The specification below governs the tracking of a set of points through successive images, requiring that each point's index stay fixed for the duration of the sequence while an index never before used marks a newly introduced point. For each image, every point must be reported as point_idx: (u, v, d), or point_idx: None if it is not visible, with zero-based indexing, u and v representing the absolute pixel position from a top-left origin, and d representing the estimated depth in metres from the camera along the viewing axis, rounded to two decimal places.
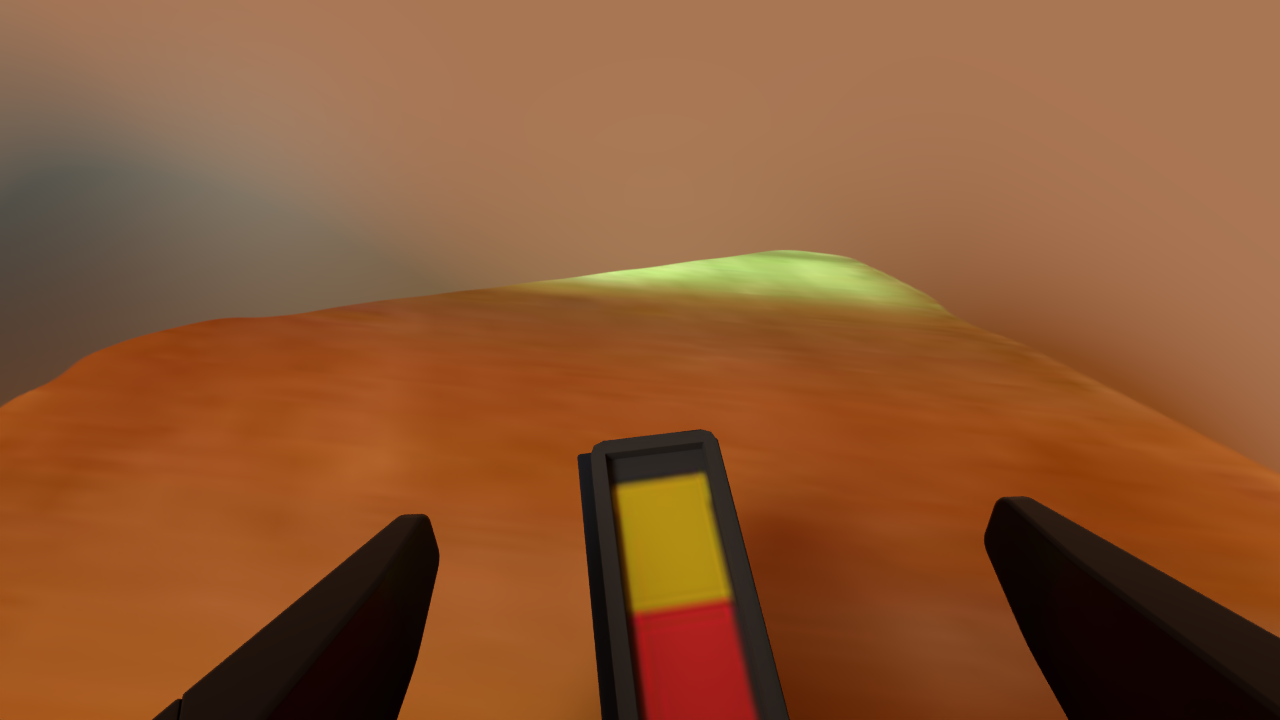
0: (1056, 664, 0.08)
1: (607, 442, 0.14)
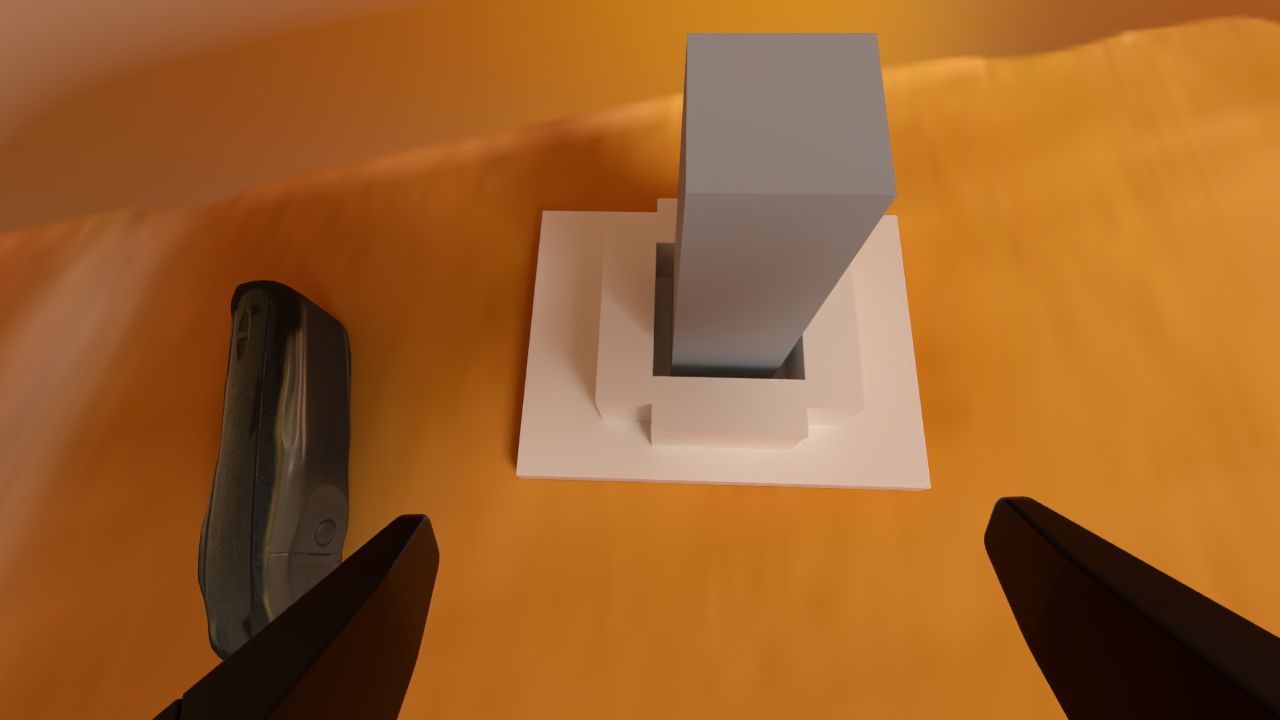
0: (1056, 664, 0.08)
1: None
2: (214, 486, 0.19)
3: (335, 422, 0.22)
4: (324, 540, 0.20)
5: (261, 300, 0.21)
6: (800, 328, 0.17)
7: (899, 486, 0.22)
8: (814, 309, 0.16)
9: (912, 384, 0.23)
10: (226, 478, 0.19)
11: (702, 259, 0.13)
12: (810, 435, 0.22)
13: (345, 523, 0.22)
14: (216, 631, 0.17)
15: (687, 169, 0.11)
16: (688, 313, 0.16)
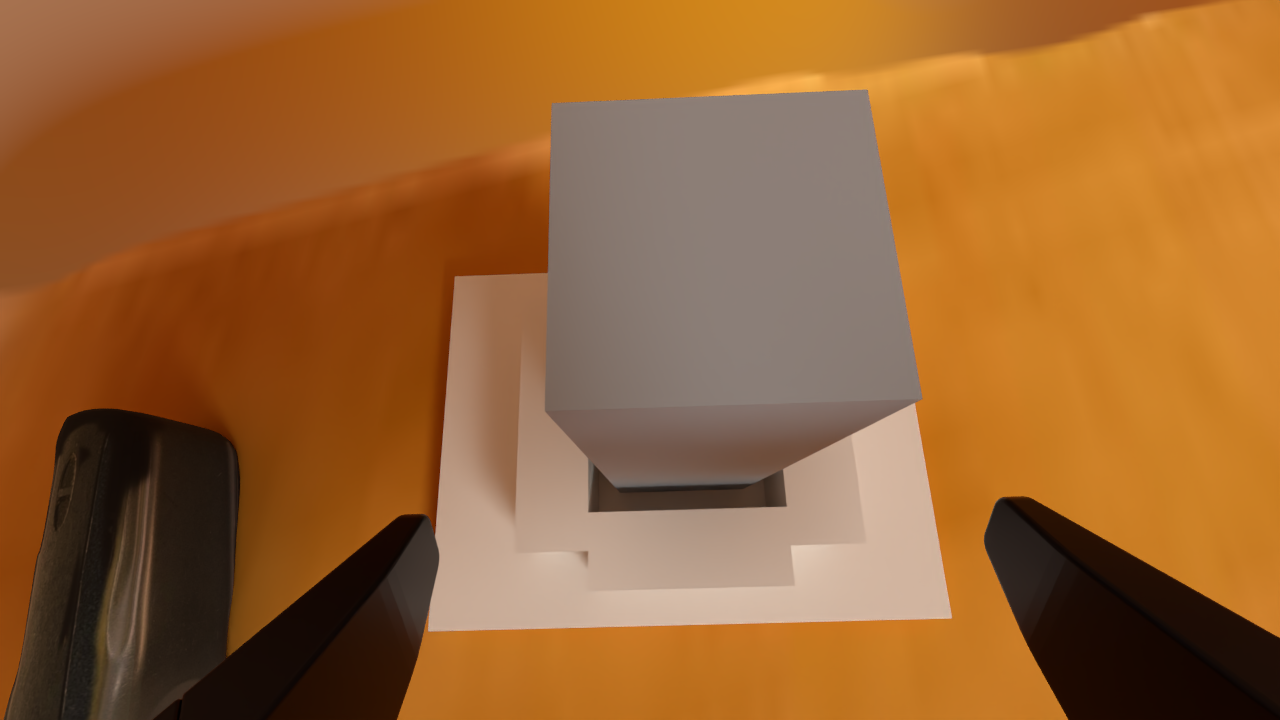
0: (1056, 664, 0.08)
1: None
2: None
3: (204, 587, 0.17)
4: None
5: (92, 442, 0.16)
6: (775, 469, 0.13)
7: (912, 618, 0.17)
8: (792, 461, 0.11)
9: (921, 480, 0.18)
10: (22, 710, 0.14)
11: (612, 445, 0.09)
12: (798, 555, 0.18)
13: None
14: None
15: (548, 364, 0.06)
16: (616, 468, 0.12)
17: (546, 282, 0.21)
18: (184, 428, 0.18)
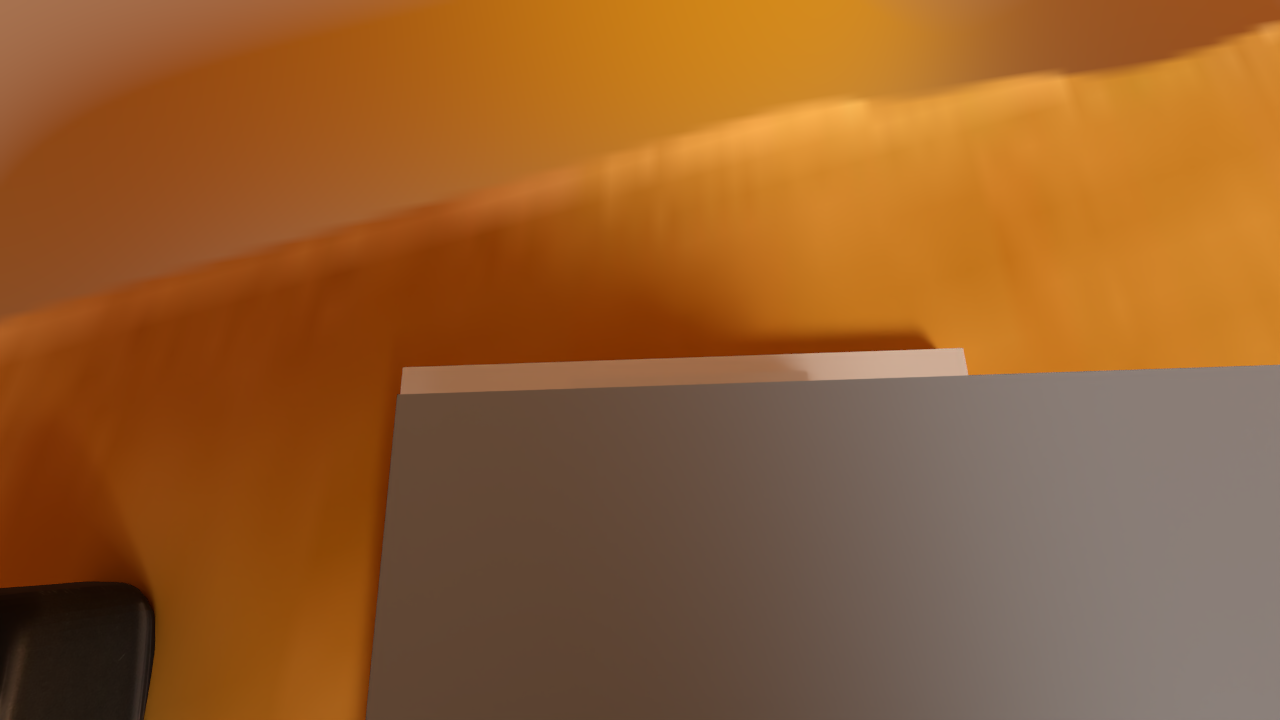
0: None
1: None
2: None
3: None
4: None
5: None
6: None
7: None
8: None
9: None
10: None
11: None
12: None
13: None
14: None
15: None
16: None
17: (520, 376, 0.16)
18: (73, 603, 0.14)
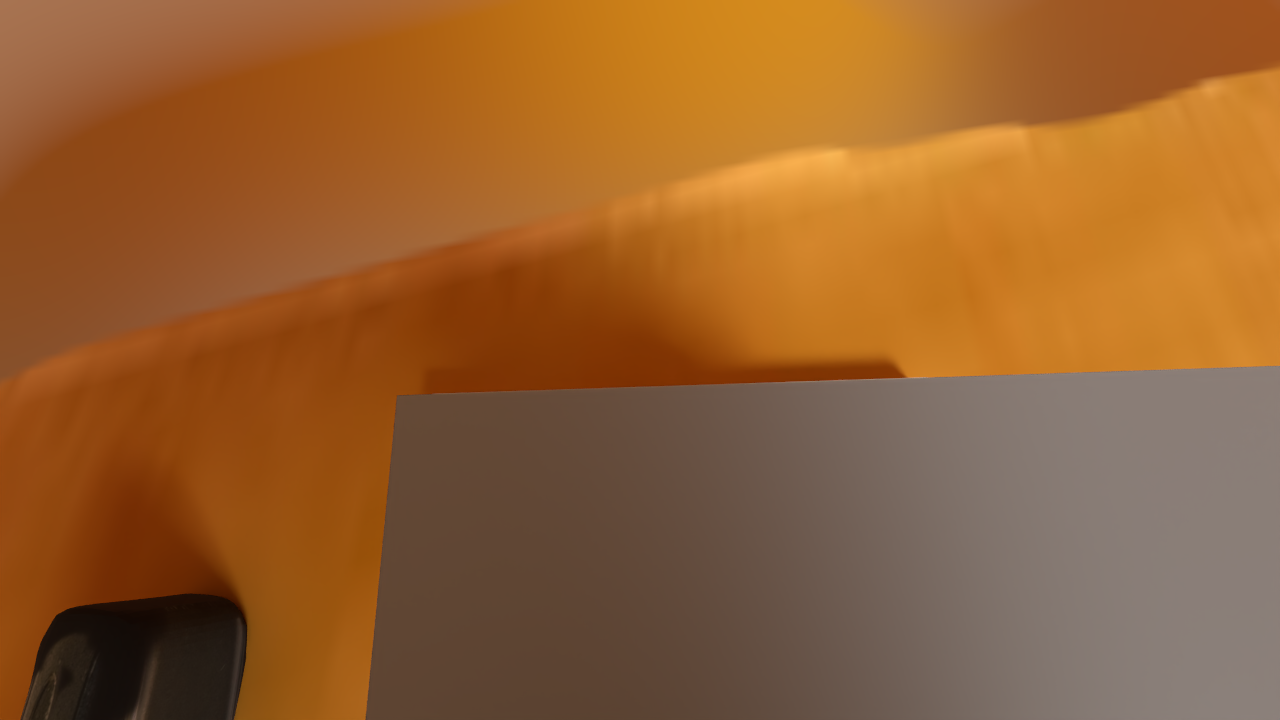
0: None
1: None
2: None
3: None
4: None
5: (78, 662, 0.13)
6: None
7: None
8: None
9: None
10: None
11: None
12: None
13: None
14: None
15: None
16: None
17: None
18: (190, 619, 0.16)
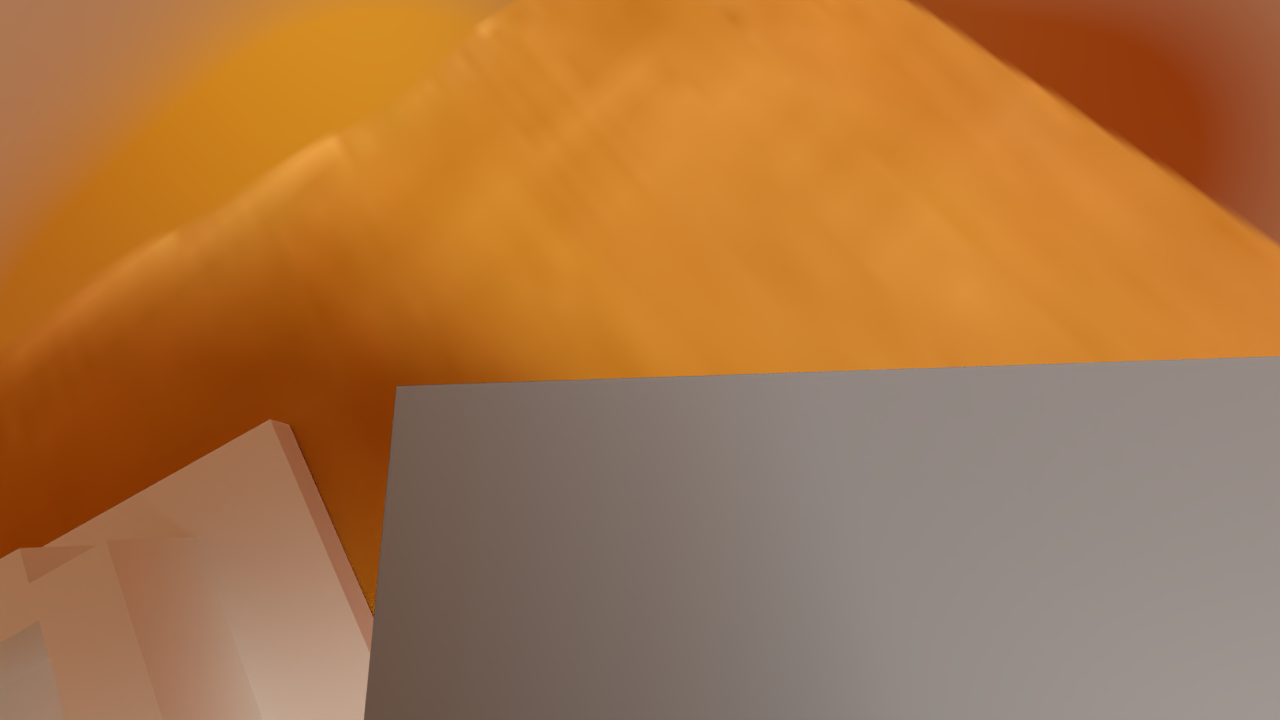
0: None
1: None
2: None
3: None
4: None
5: None
6: None
7: None
8: None
9: (360, 651, 0.16)
10: None
11: None
12: None
13: None
14: None
15: None
16: None
17: None
18: None
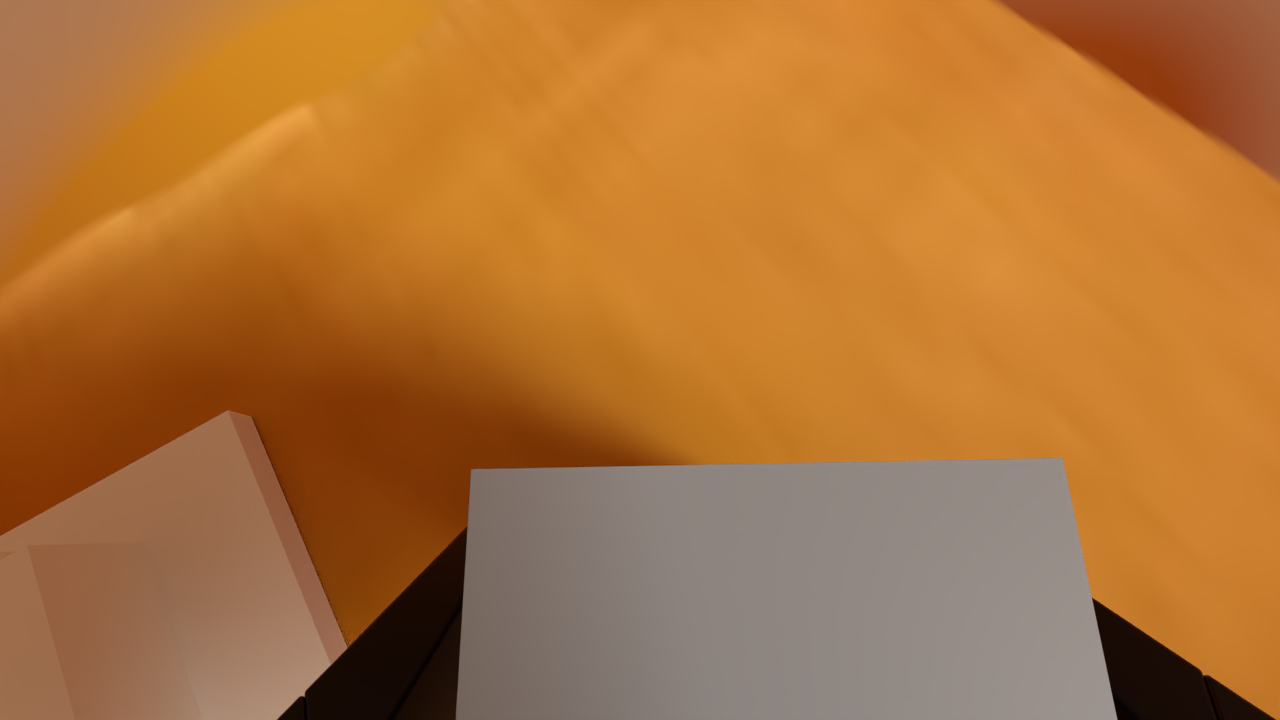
0: None
1: None
2: None
3: None
4: None
5: None
6: None
7: None
8: None
9: (323, 670, 0.15)
10: None
11: None
12: None
13: None
14: None
15: None
16: None
17: None
18: None
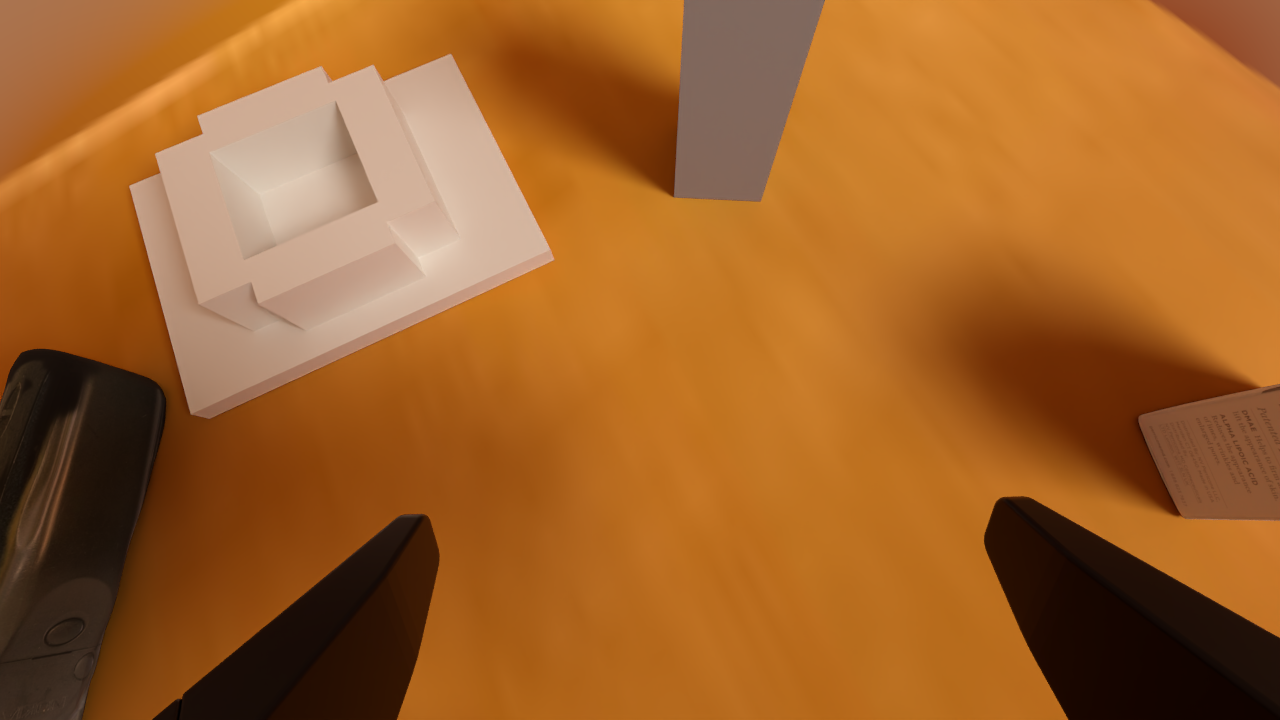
0: (1056, 664, 0.08)
1: None
2: None
3: (111, 506, 0.21)
4: (62, 639, 0.19)
5: (36, 376, 0.20)
6: (785, 106, 0.20)
7: (525, 260, 0.24)
8: (796, 75, 0.19)
9: (509, 178, 0.26)
10: None
11: None
12: (439, 256, 0.25)
13: (102, 615, 0.21)
14: None
15: None
16: (690, 81, 0.19)
17: None
18: (119, 374, 0.22)
